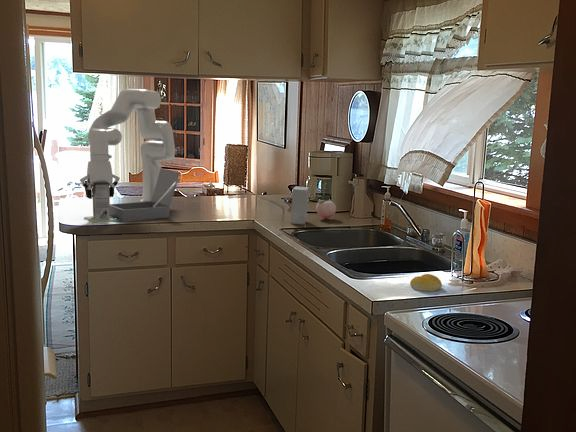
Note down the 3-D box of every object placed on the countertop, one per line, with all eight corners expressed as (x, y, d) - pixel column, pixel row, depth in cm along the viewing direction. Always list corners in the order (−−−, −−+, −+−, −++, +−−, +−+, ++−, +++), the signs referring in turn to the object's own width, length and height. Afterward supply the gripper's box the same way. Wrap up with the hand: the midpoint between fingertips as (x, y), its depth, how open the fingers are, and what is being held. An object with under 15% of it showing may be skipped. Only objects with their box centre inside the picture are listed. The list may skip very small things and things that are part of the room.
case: (107, 215, 288) (106, 170, 285) (162, 210, 305) (162, 168, 301) (124, 222, 273) (123, 175, 270) (181, 216, 290) (181, 172, 286)
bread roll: (404, 287, 187) (405, 274, 186) (424, 283, 192) (425, 270, 191) (426, 294, 180) (427, 281, 180) (446, 289, 186) (447, 276, 185)
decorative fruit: (324, 221, 287) (324, 199, 285) (312, 218, 294) (313, 197, 292) (339, 220, 292) (340, 198, 291) (328, 217, 299) (329, 196, 297)
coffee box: (92, 216, 281) (91, 180, 278) (107, 216, 283) (106, 180, 280) (94, 220, 272) (93, 183, 269) (110, 219, 275) (109, 182, 272)
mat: (84, 218, 280) (84, 216, 279) (106, 216, 286) (106, 215, 285) (95, 223, 269) (95, 221, 269) (117, 221, 275) (117, 219, 275)
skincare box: (292, 220, 288) (293, 185, 285) (308, 221, 287) (309, 186, 284) (289, 223, 280) (290, 188, 277) (305, 224, 279) (306, 189, 276)
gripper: (115, 156, 281) (116, 194, 284) (76, 158, 271) (78, 197, 274) (122, 158, 275) (123, 197, 278) (82, 159, 265) (84, 200, 268)
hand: (100, 197), depth 276 cm, fingers open, 9 cm apart
